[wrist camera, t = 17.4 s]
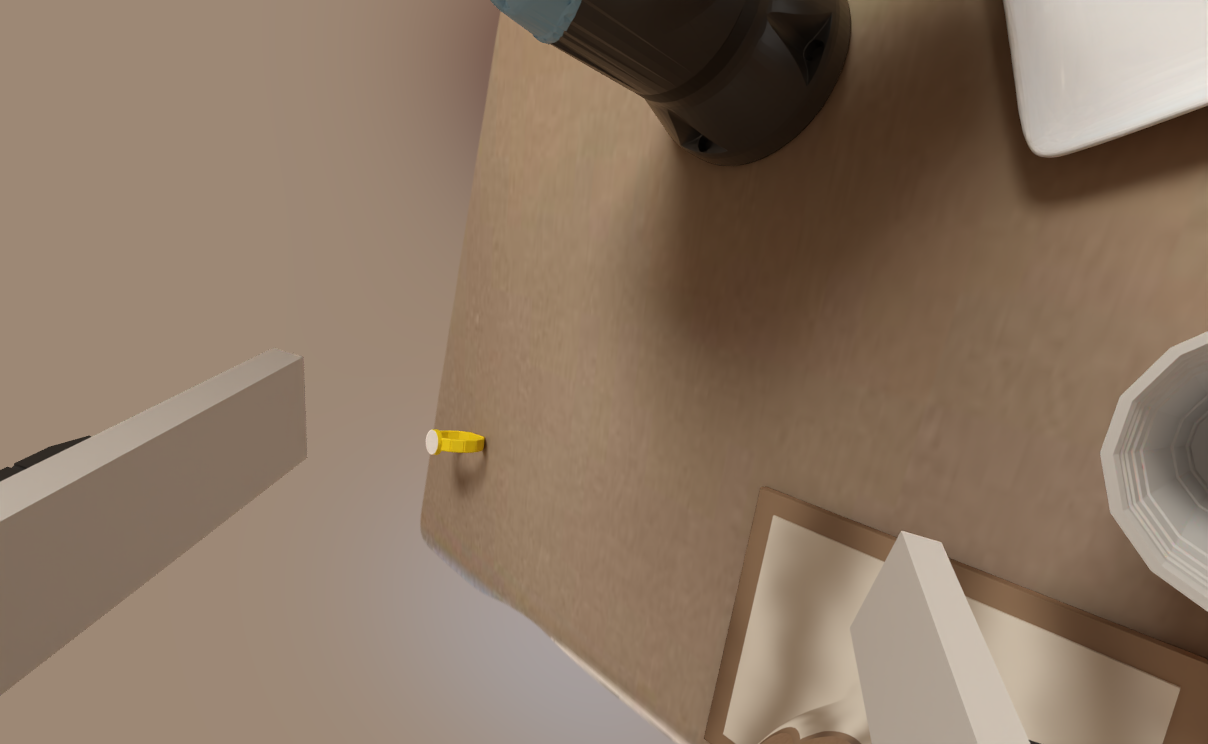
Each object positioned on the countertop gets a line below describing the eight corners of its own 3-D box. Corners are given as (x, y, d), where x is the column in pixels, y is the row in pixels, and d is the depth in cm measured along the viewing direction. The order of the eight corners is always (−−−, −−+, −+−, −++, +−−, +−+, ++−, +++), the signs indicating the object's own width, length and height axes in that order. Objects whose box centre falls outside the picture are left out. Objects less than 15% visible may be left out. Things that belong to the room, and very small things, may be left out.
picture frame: (709, 734, 46) (702, 739, 45) (765, 486, 43) (759, 488, 42) (1109, 1042, 29) (1108, 1059, 28) (1235, 670, 27) (1237, 677, 26)
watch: (464, 447, 71) (417, 448, 67) (467, 424, 71) (420, 424, 67) (490, 457, 67) (441, 460, 63) (493, 433, 66) (444, 434, 63)
